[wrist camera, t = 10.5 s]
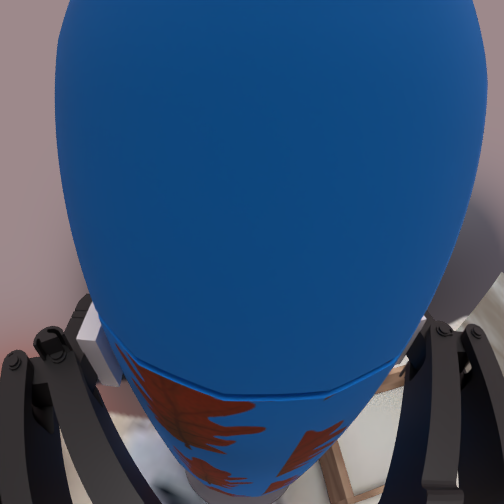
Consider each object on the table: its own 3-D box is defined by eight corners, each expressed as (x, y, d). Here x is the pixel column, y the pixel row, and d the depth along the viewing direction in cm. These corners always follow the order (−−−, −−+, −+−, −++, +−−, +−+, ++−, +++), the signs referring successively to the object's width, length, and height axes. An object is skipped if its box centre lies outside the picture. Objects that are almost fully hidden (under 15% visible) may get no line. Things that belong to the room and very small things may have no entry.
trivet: (188, 512, 18) (187, 512, 17) (185, 424, 28) (184, 422, 27) (301, 503, 19) (302, 503, 19) (282, 419, 29) (283, 417, 29)
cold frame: (332, 509, 18) (439, 464, 8) (304, 404, 31) (349, 288, 21) (483, 434, 21) (568, 346, 11) (445, 366, 35) (503, 271, 25)
